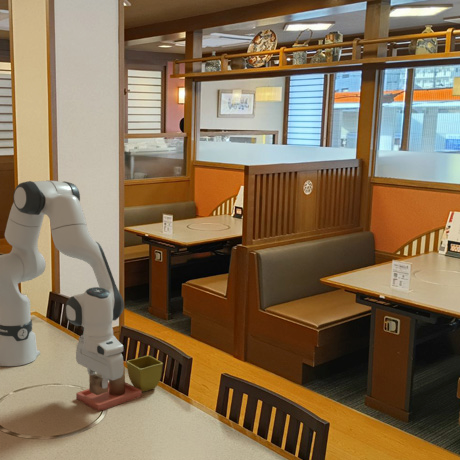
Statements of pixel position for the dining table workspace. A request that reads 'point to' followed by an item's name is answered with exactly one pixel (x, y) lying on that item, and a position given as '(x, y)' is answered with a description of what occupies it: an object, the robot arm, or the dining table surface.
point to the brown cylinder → (117, 385)
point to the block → (96, 384)
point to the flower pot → (144, 372)
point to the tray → (107, 397)
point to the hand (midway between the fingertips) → (98, 384)
